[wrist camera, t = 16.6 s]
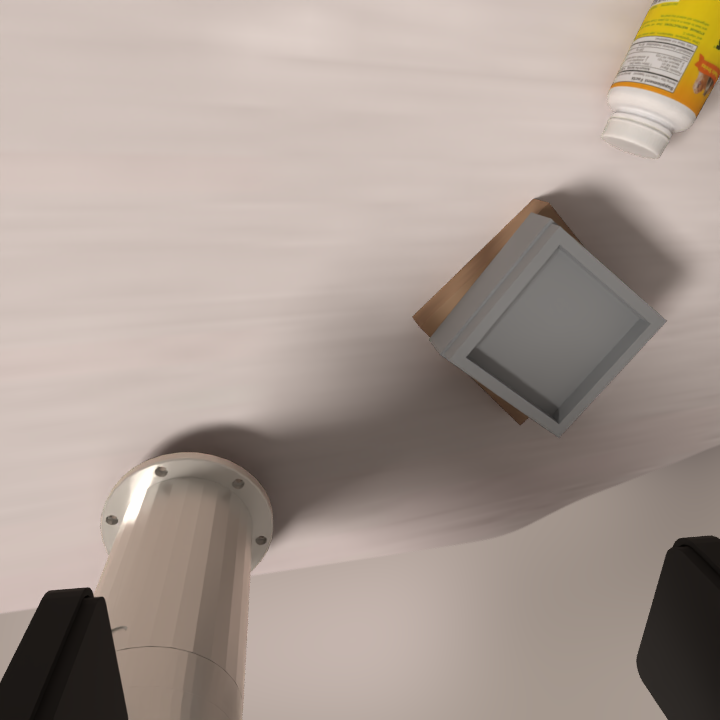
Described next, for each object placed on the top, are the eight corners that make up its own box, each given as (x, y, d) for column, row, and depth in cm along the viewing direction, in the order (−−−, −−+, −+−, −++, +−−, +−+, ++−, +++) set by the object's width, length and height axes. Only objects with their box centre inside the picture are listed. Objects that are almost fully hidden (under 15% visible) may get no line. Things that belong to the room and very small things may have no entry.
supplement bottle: (757, 9, 35) (669, 170, 38) (668, -13, 37) (591, 143, 40) (778, -35, 30) (674, 154, 33) (673, -57, 32) (585, 124, 35)
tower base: (505, 408, 47) (520, 425, 44) (410, 314, 42) (419, 327, 40) (618, 307, 45) (641, 318, 42) (530, 197, 40) (548, 202, 38)
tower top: (534, 414, 44) (559, 441, 40) (428, 339, 40) (444, 361, 36) (634, 302, 41) (670, 320, 37) (531, 212, 38) (559, 221, 34)
